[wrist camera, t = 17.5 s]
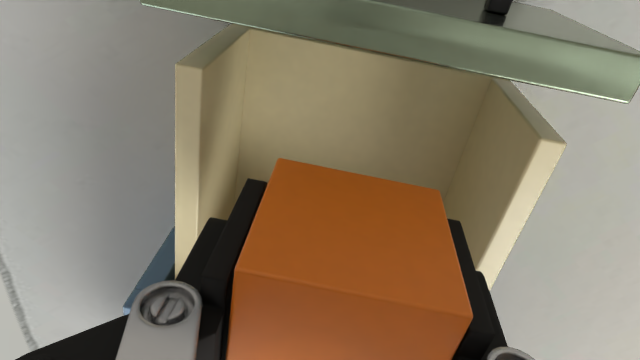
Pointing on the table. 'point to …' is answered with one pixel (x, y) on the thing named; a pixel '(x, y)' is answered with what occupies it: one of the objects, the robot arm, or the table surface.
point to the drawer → (384, 103)
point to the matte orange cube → (347, 272)
